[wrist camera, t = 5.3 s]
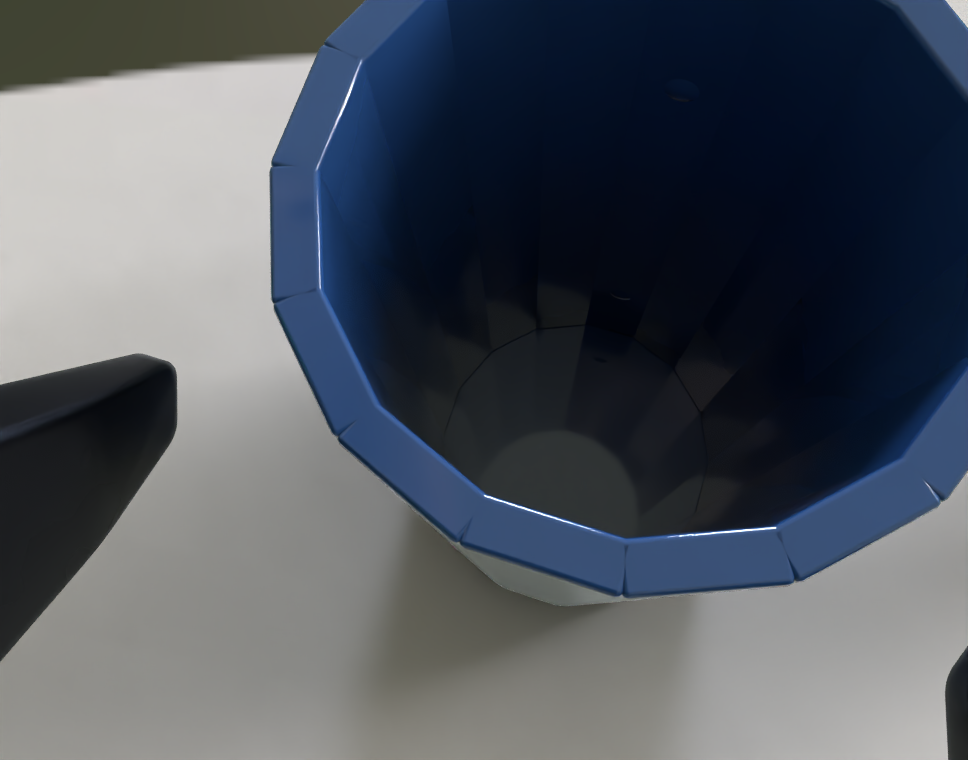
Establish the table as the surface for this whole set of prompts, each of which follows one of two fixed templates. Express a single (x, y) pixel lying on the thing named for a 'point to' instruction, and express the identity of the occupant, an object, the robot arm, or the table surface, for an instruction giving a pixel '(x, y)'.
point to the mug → (636, 279)
